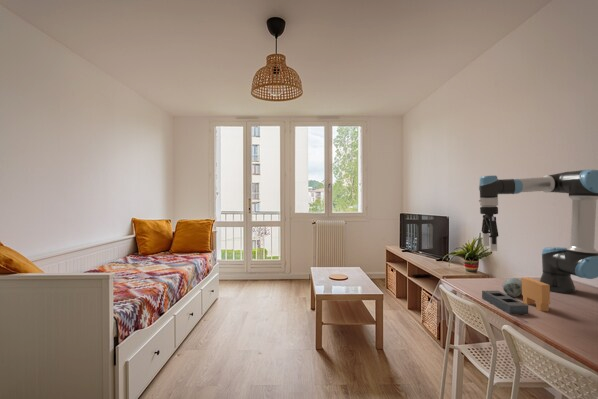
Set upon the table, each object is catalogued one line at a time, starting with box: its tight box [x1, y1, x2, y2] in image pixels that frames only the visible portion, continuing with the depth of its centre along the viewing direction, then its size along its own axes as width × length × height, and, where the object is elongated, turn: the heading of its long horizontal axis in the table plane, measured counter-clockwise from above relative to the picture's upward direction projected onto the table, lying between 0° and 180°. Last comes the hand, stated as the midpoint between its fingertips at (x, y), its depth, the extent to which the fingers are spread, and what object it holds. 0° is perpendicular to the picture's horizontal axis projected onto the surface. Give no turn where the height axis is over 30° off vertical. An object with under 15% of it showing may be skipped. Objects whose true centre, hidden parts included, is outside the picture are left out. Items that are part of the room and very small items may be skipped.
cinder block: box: [481, 290, 529, 316], centre depth 135 cm, size 8×20×4 cm, turn 178°
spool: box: [502, 277, 522, 298], centre depth 151 cm, size 14×10×10 cm
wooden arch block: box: [521, 277, 551, 312], centre depth 134 cm, size 4×12×12 cm, turn 178°
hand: (489, 248), depth 144 cm, fingers open, 13 cm apart
